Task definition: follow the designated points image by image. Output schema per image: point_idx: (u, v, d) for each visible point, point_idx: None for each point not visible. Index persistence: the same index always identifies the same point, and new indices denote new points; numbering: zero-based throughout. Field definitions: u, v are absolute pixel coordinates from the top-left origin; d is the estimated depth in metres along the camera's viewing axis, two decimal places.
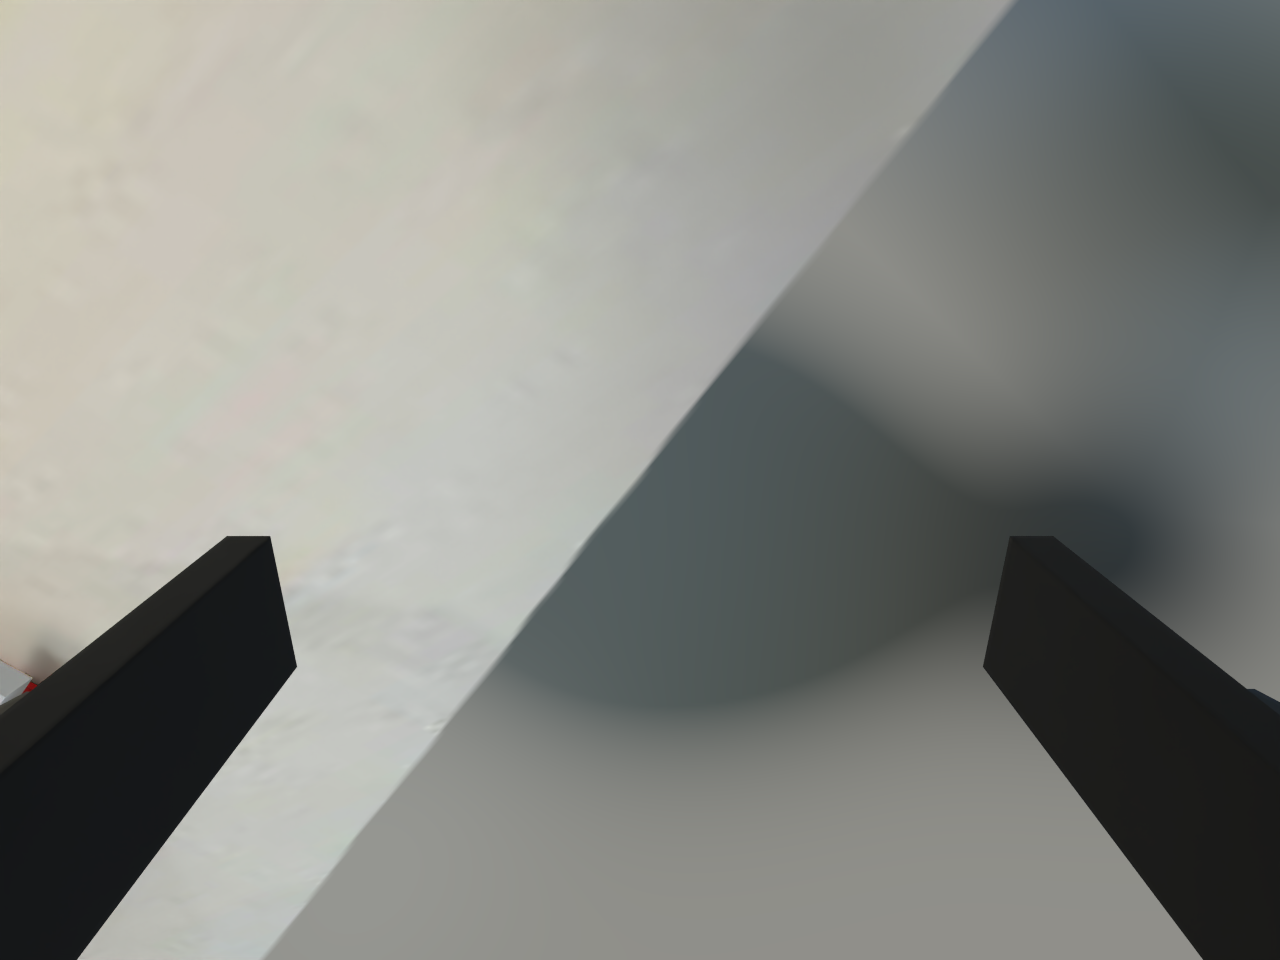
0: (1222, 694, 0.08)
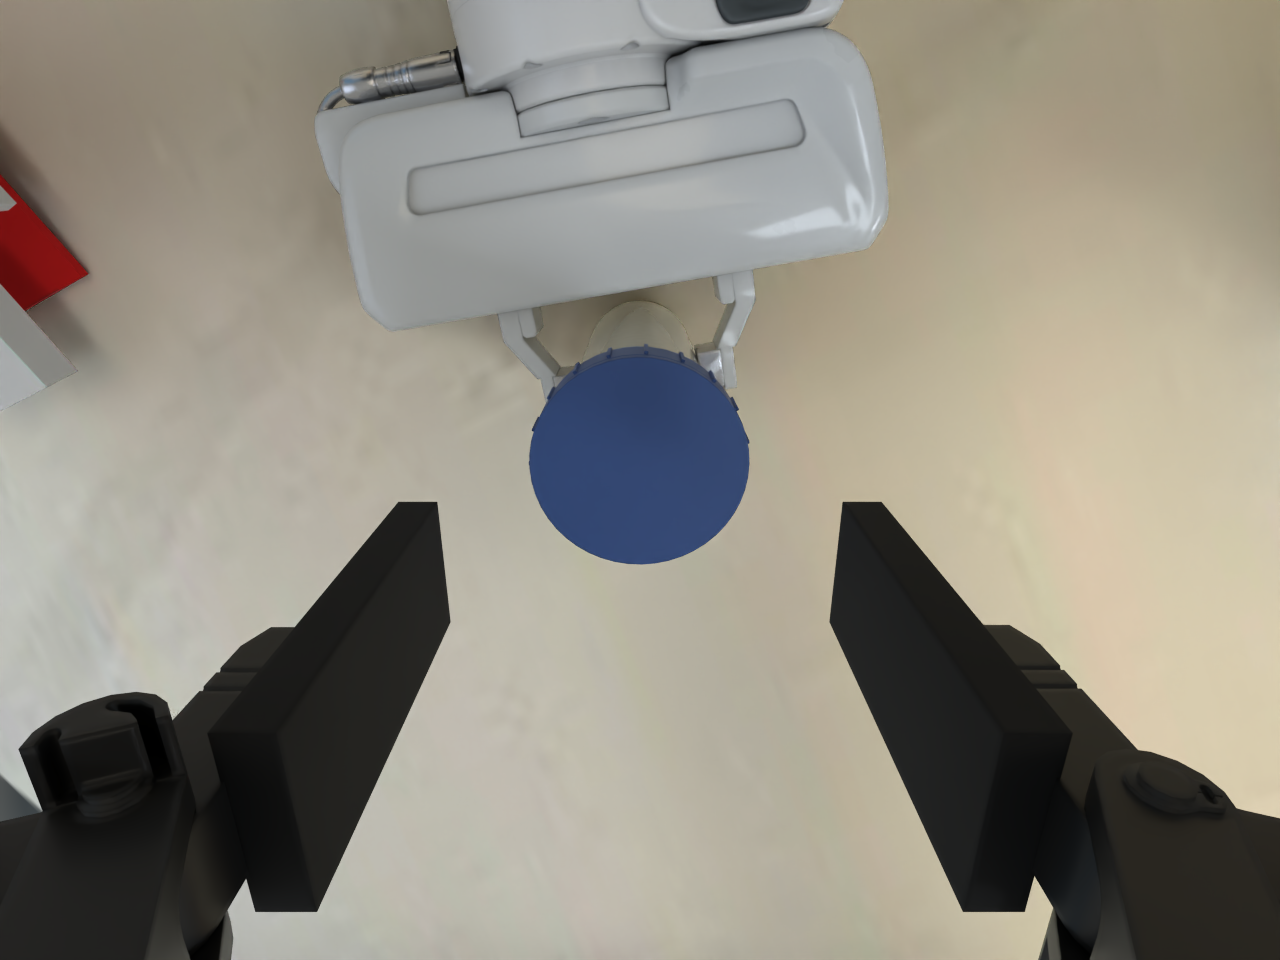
0: (954, 622, 0.10)
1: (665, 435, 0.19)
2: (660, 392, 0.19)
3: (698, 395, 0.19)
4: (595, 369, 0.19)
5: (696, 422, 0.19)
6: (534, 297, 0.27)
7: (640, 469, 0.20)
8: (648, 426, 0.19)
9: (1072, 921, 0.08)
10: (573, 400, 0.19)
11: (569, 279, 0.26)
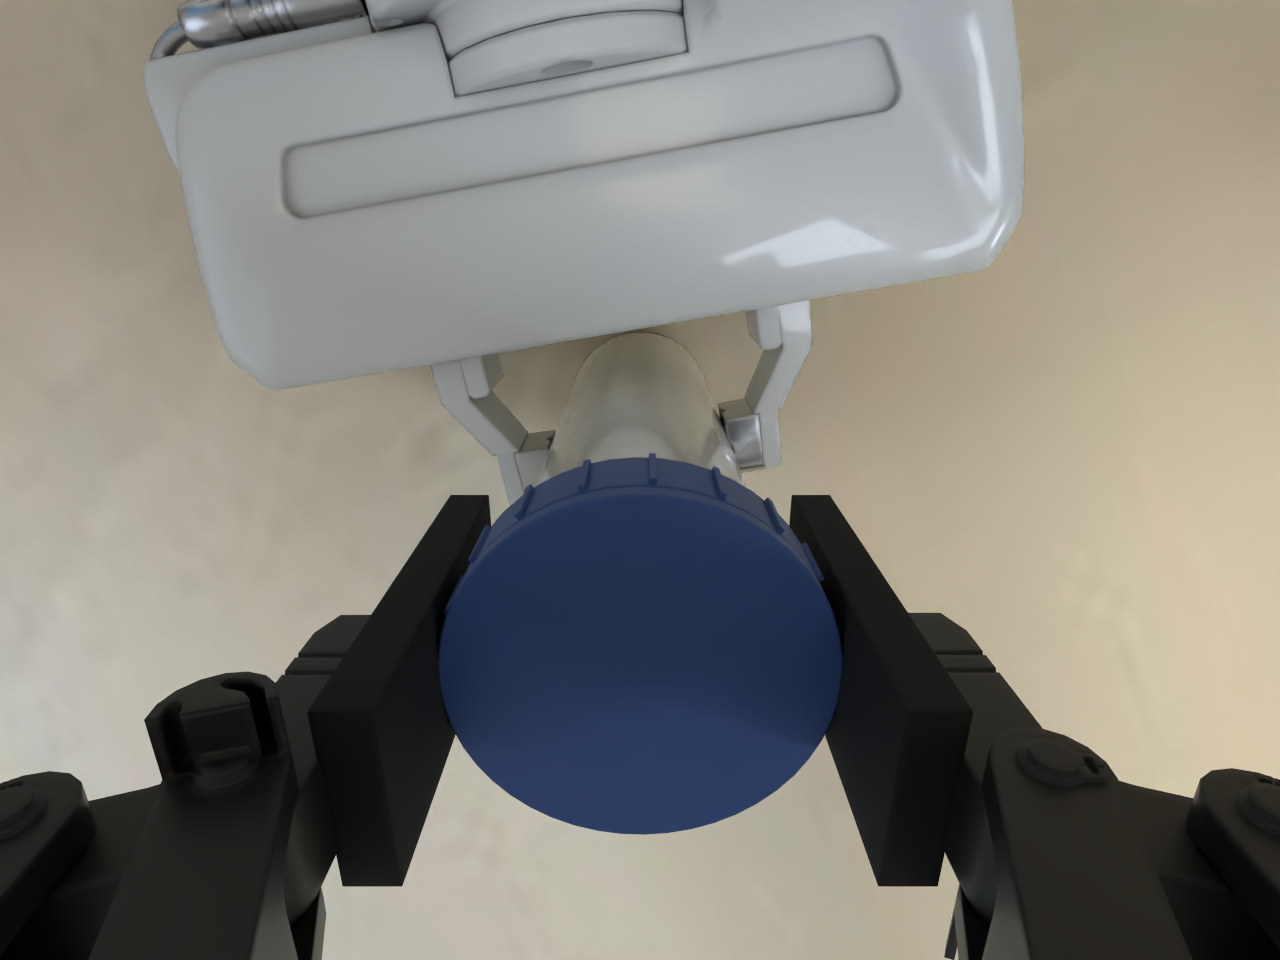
0: (879, 608, 0.10)
1: (688, 630, 0.10)
2: (679, 557, 0.10)
3: (752, 562, 0.10)
4: (555, 517, 0.10)
5: (747, 609, 0.10)
6: (482, 341, 0.18)
7: (642, 686, 0.11)
8: (657, 615, 0.10)
9: (975, 897, 0.08)
10: (515, 571, 0.10)
11: (534, 315, 0.17)
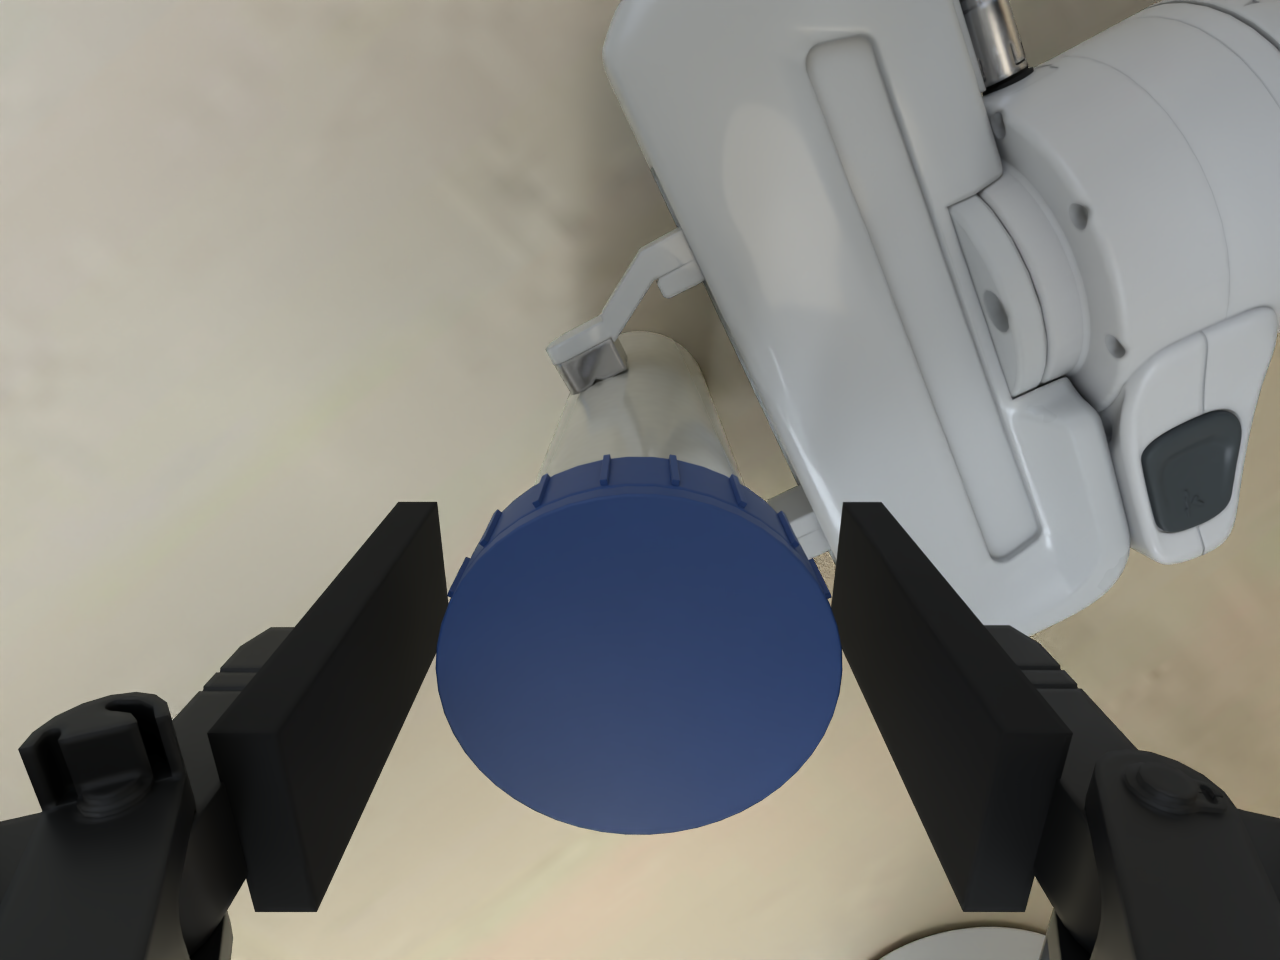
0: (954, 622, 0.10)
1: (597, 626, 0.10)
2: (515, 609, 0.10)
3: (542, 551, 0.10)
4: (442, 690, 0.11)
5: (592, 570, 0.10)
6: (727, 286, 0.17)
7: (644, 682, 0.11)
8: (570, 646, 0.10)
9: (1073, 921, 0.08)
10: (485, 736, 0.11)
11: (767, 331, 0.18)
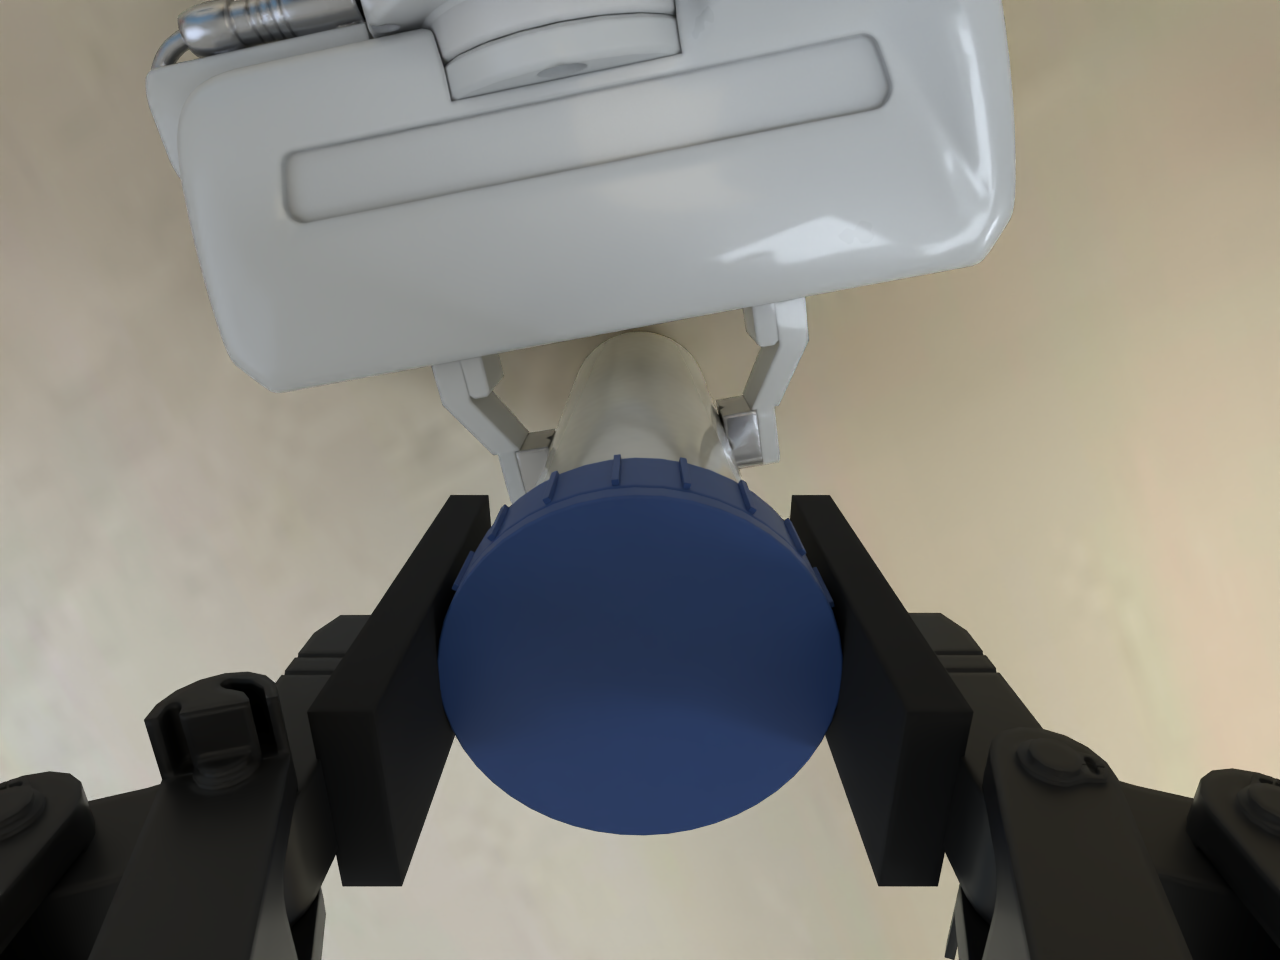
0: (879, 609, 0.10)
1: (566, 698, 0.11)
2: (530, 753, 0.11)
3: (478, 718, 0.11)
4: (594, 829, 0.12)
5: (507, 687, 0.11)
6: (482, 342, 0.18)
7: (641, 678, 0.11)
8: (581, 725, 0.11)
9: (975, 897, 0.08)
10: (655, 814, 0.12)
11: (533, 315, 0.18)
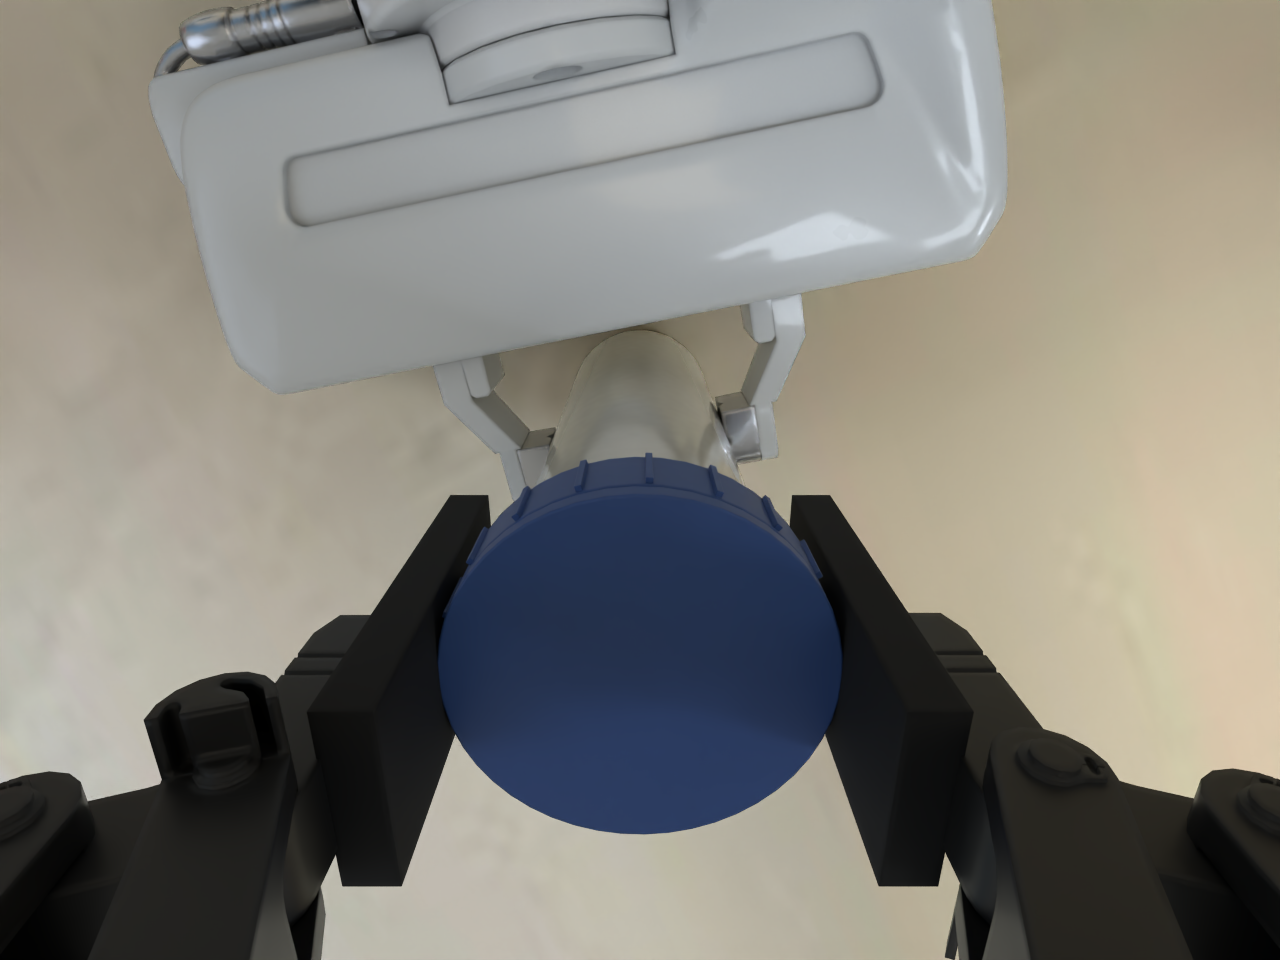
0: (879, 608, 0.10)
1: (709, 706, 0.11)
2: (784, 682, 0.11)
3: (792, 735, 0.11)
4: (805, 575, 0.10)
5: (744, 744, 0.11)
6: (482, 342, 0.18)
7: (635, 684, 0.11)
8: (719, 679, 0.11)
9: (976, 897, 0.08)
10: (737, 551, 0.10)
11: (532, 315, 0.18)
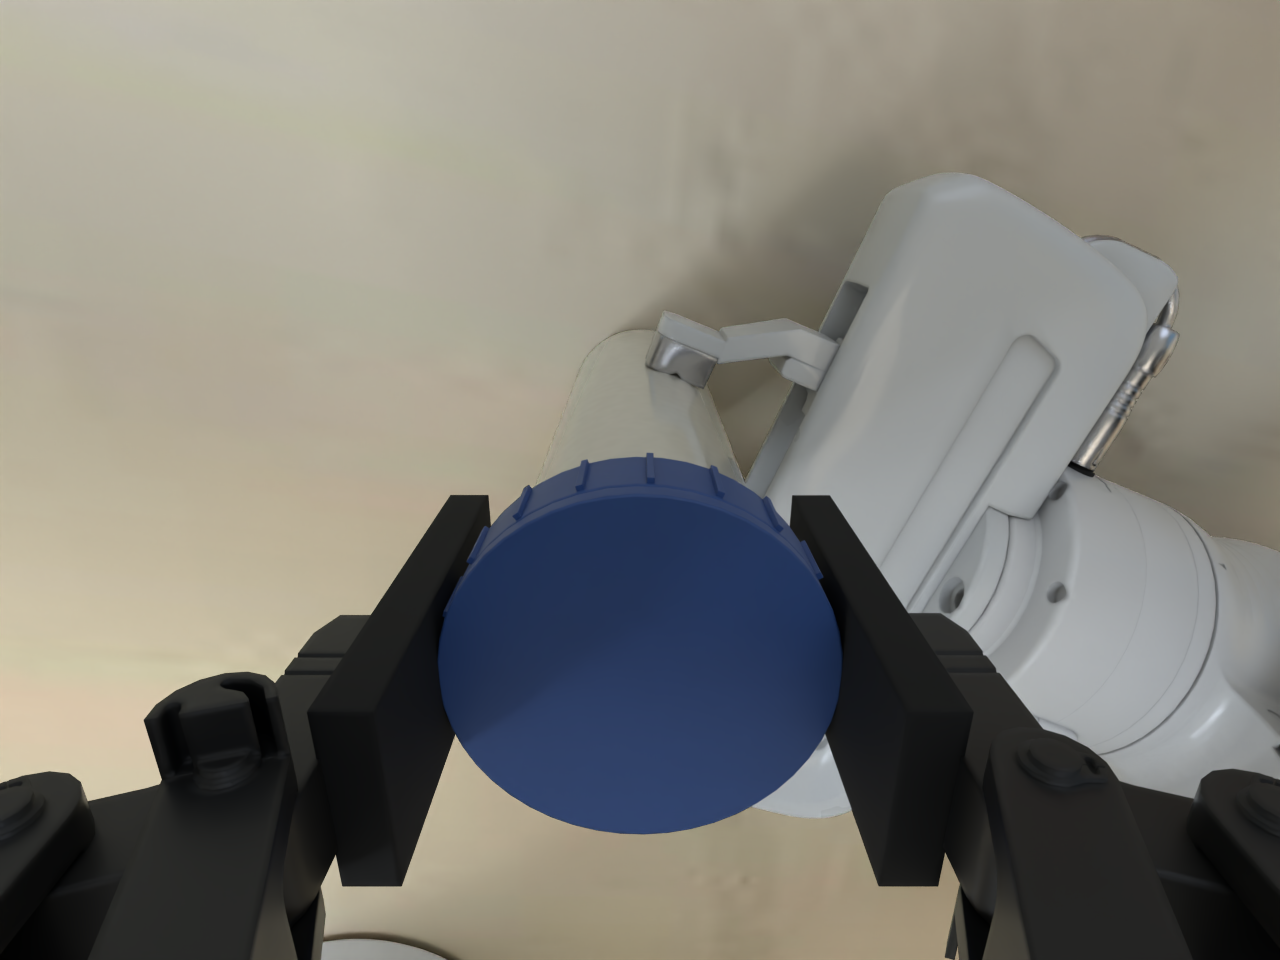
0: (879, 609, 0.10)
1: (709, 707, 0.11)
2: (785, 682, 0.11)
3: (791, 736, 0.11)
4: (806, 576, 0.10)
5: (744, 744, 0.11)
6: (830, 413, 0.19)
7: (635, 684, 0.11)
8: (719, 679, 0.11)
9: (976, 897, 0.08)
10: (738, 552, 0.10)
11: (820, 466, 0.20)
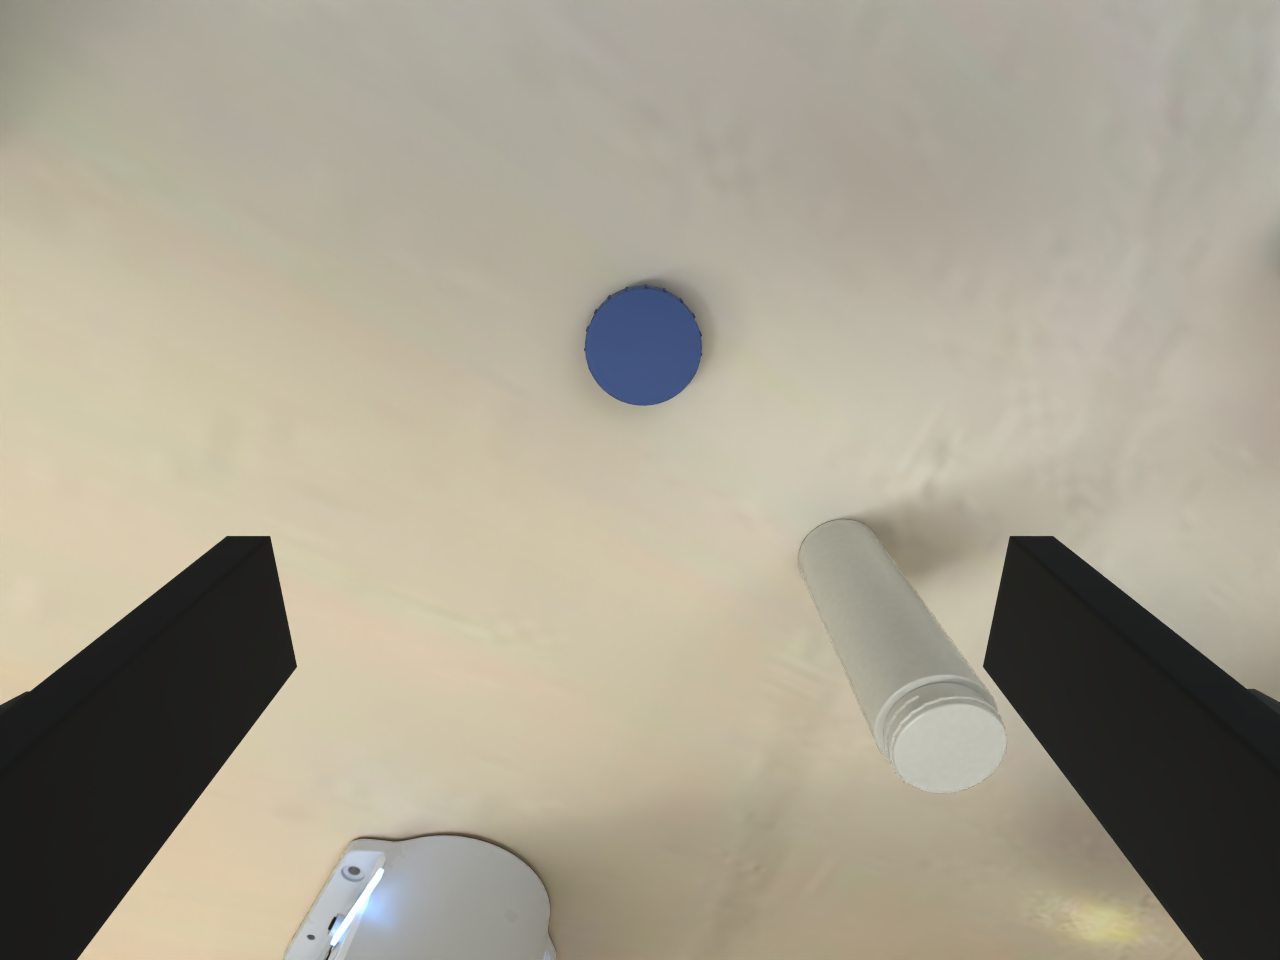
0: (1222, 694, 0.08)
1: (663, 357, 0.37)
2: (684, 348, 0.37)
3: (688, 367, 0.37)
4: (688, 313, 0.36)
5: (674, 370, 0.37)
6: None
7: (642, 349, 0.37)
8: (666, 347, 0.37)
9: None
10: (669, 306, 0.36)
11: None
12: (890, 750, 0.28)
